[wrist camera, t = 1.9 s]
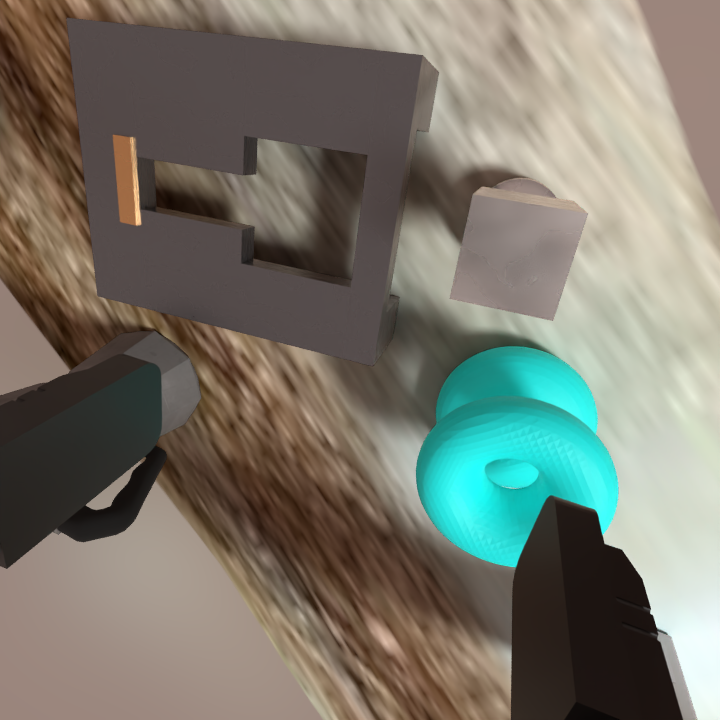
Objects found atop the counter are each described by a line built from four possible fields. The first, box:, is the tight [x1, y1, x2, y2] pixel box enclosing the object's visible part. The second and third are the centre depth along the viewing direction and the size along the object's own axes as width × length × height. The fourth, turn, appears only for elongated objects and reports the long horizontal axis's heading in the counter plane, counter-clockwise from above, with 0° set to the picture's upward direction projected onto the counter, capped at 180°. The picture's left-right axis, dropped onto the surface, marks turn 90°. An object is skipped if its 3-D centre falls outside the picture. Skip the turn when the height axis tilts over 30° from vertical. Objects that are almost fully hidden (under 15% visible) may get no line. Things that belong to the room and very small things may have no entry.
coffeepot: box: [0, 331, 201, 542], centre depth 33 cm, size 15×9×18 cm, turn 77°
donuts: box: [416, 346, 618, 567], centre depth 28 cm, size 10×10×10 cm
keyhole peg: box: [450, 178, 588, 321], centre depth 23 cm, size 5×5×12 cm
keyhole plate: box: [66, 18, 439, 366], centre depth 29 cm, size 20×16×5 cm
